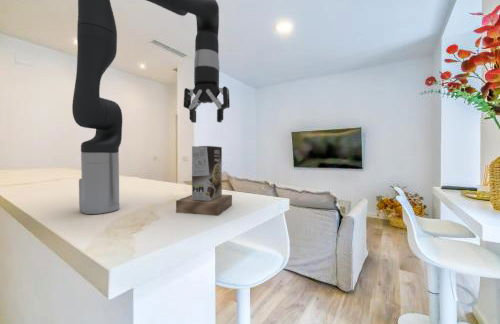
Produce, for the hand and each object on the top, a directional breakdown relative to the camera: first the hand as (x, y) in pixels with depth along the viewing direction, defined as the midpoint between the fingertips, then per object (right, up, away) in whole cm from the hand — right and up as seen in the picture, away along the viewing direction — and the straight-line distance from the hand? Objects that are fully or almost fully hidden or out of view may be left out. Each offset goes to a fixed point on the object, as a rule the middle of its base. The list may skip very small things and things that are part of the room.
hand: (206, 122), depth 69 cm
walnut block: (0, -28, +1) cm, 28 cm away
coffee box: (0, -24, +1) cm, 24 cm away
